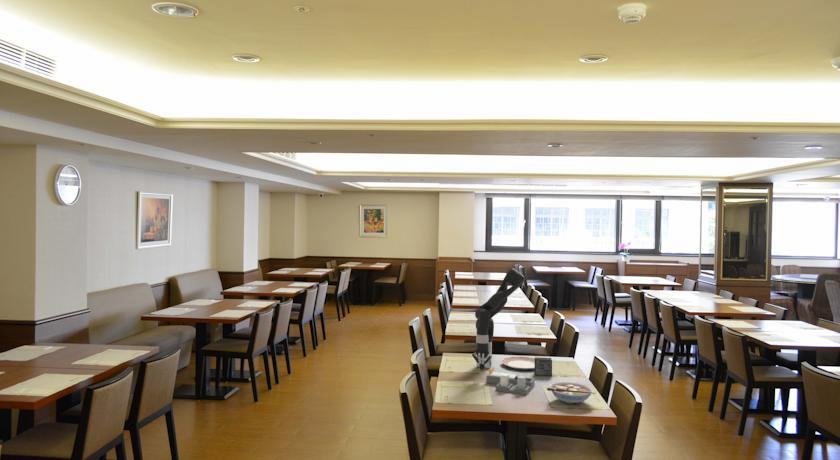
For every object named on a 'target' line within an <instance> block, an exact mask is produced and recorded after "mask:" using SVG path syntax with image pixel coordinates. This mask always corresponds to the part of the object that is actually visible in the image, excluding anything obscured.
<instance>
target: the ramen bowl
mask: <svg viewBox="0 0 840 460" xmlns="http://www.w3.org/2000/svg"><path fill="white" fill-rule="evenodd" d="M546 389H547V390H546V391H551V393H552V394H553V396H554V397H555V398H556V399H558V400H560V401H561V402H564V403H566V402H567V403H566V404H569V403H576V404H578V403H582V402H584V401H586V400H587V399H588V398H589V397H590V396H591V395H592V394H593V395H594V394H597V393H596V392H593V391H594V390H593V389H592V387H590V386H587V384H586V385H585V384H583V383H577V382H570V381H558V382H553V383H550V384H549V387H547V388H546Z"/></svg>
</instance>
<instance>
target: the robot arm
mask: <svg viewBox="0 0 840 460" xmlns="http://www.w3.org/2000/svg"><path fill="white" fill-rule="evenodd" d="M525 280H526V277H525V275H523V274H522V273H520V271H518V270H516V268H514V267H513V268H510V269H509V270H508V271H507V273H506V274H505V276H504V278H503V279H502V281H501V283H500V285H499V287H498V288H497V290H496V292H495V293H494V294H492V296H490V297H489V298H488V300H487V301H486V302H485V303H483V304H482V305H481V306H479V307H478V308H477V309H476V310H475V313H474V316H475V318H476V319H477V320H476V322H475V328H476V337H475V338H476V339H475V351H474V352H473V353H472V354H471V356H472V357H473V359H474V361H475V362H476V367H478V368H479V369H480V371H483V370H485V369H490V368H491V367H492V366H493V365H492V364H493V363H492V362H493V361H492V358H493V355H492V354H493V353H492V352H493V348H492V347H493V343H492V342H493V338H494V332H495V331H494V328H495V323H494V320H493V318H494V316H496V315H497V314H499V313H500V312H501V311H502V310H503V309H504V308H505V305H506V304H507V302H508V297H510V296H511V295H512V294H513V293H514V292H516V290H518V289H519V288H520V286H522V284H523V283H524V281H525ZM509 285H511V287H509V288H508V286H509Z"/></svg>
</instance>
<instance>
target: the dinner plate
mask: <svg viewBox="0 0 840 460" xmlns="http://www.w3.org/2000/svg"><path fill="white" fill-rule="evenodd" d="M501 363H502V364H503V365H505V366H507V367H509V368H511V369H514V370H515V369H516V370H520V371H523V370H525V371H526V370H527V371H529V370H534V368H535V357H529V356H520V355H519V356H508V357H505V358H502V359H501Z"/></svg>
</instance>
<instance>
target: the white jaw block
mask: <svg viewBox="0 0 840 460" xmlns="http://www.w3.org/2000/svg"><path fill="white" fill-rule="evenodd" d="M503 373H504V372H502V374H501V375H500V386H505V387H509V374H503Z"/></svg>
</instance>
